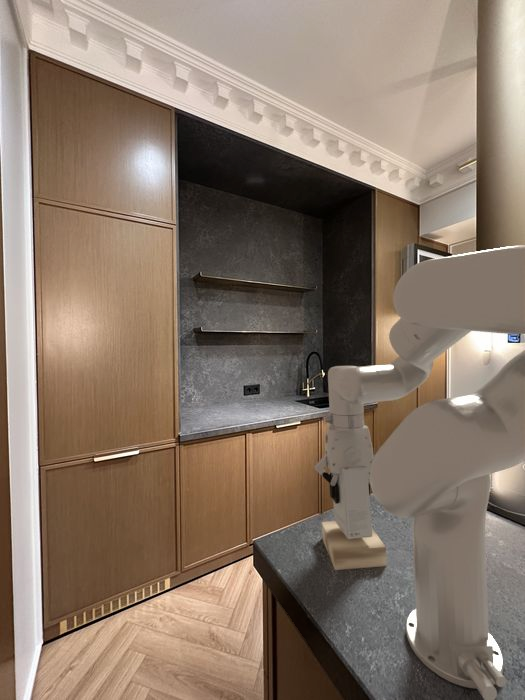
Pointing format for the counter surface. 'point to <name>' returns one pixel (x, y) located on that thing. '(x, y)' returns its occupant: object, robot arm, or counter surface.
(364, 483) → the skincare box
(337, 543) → the birch block
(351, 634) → the counter surface
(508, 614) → the counter surface
